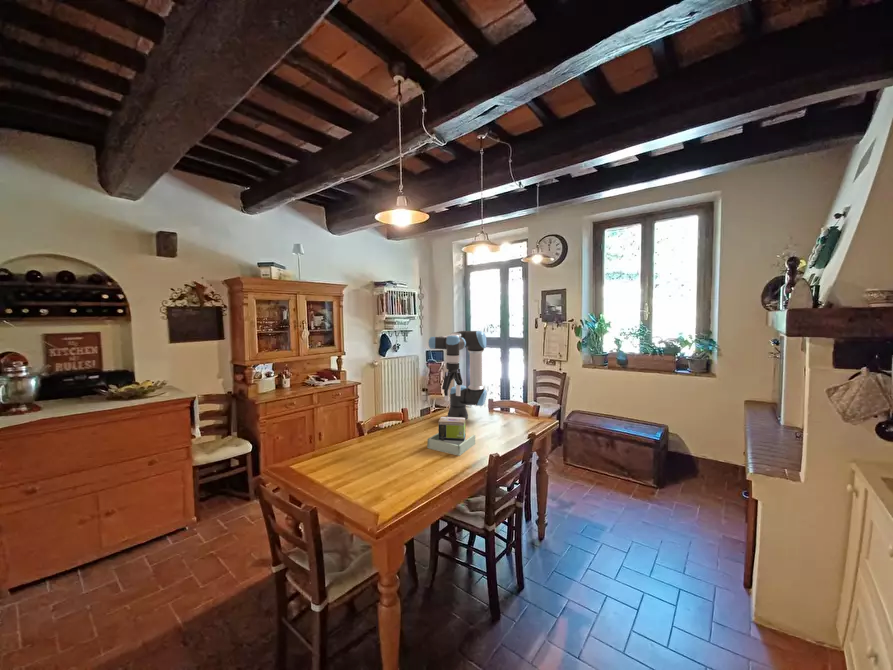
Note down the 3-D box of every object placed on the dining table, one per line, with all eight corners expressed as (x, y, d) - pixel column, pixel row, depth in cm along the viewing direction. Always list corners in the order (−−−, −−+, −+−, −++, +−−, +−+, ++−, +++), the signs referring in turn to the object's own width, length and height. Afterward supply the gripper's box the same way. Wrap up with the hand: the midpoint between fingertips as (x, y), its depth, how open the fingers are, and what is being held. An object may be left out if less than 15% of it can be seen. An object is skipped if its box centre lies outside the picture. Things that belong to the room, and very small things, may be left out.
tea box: (465, 441, 219) (465, 417, 218) (463, 447, 209) (464, 422, 208) (441, 439, 221) (441, 415, 220) (438, 445, 211) (438, 421, 210)
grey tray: (444, 437, 228) (445, 428, 228) (475, 444, 218) (475, 435, 217) (427, 448, 211) (427, 439, 211) (459, 455, 201) (459, 446, 200)
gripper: (457, 359, 223) (457, 392, 225) (435, 364, 202) (435, 402, 204) (468, 360, 220) (467, 394, 222) (447, 366, 198) (447, 404, 200)
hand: (452, 398), depth 213 cm, fingers open, 13 cm apart
